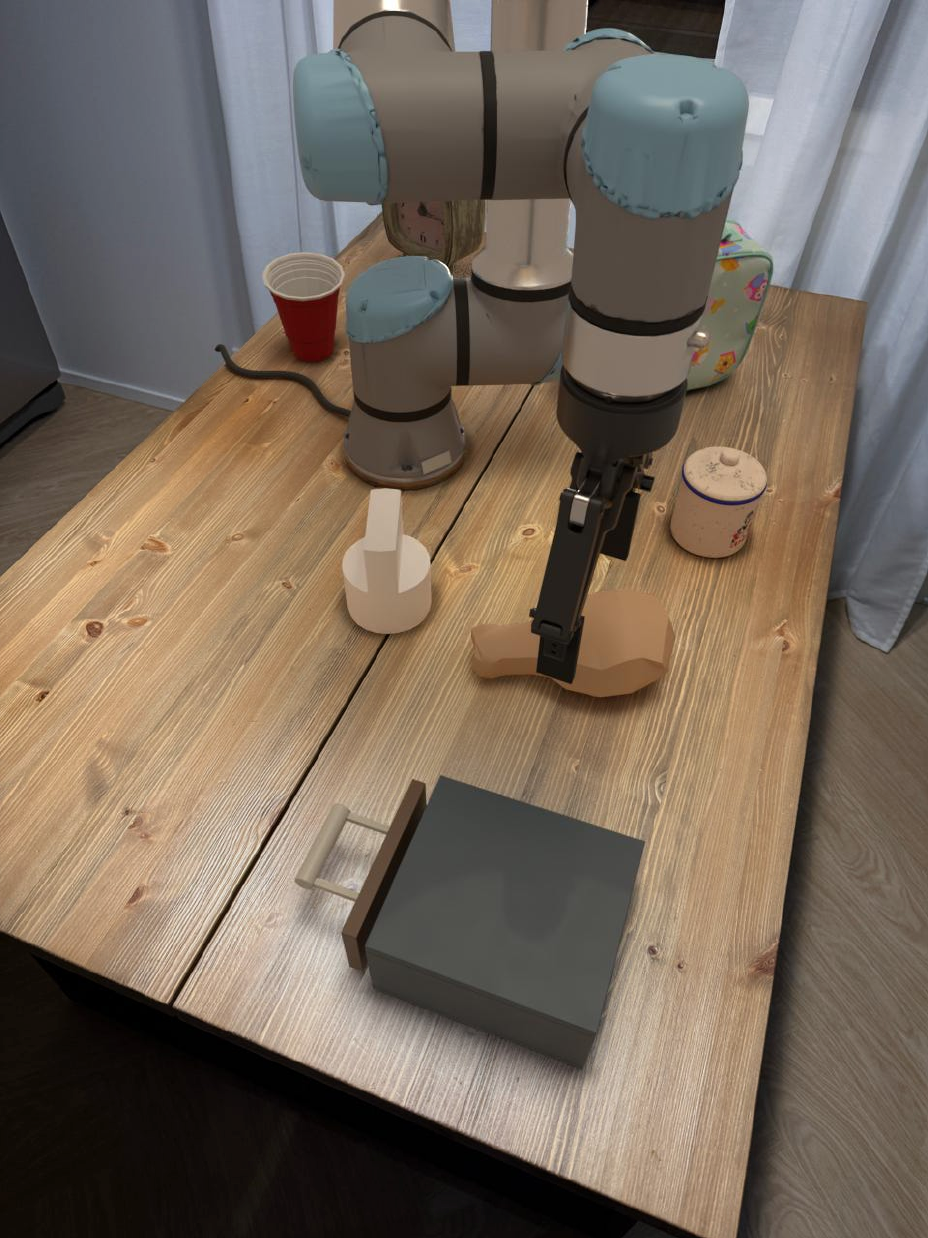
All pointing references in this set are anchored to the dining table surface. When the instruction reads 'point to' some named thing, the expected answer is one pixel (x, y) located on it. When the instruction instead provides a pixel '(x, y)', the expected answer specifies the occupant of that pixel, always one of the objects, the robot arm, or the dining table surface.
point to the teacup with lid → (717, 501)
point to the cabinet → (506, 919)
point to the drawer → (379, 874)
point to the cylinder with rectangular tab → (387, 571)
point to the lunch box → (731, 306)
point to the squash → (590, 645)
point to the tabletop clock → (436, 228)
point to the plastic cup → (306, 301)
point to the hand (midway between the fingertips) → (584, 610)
